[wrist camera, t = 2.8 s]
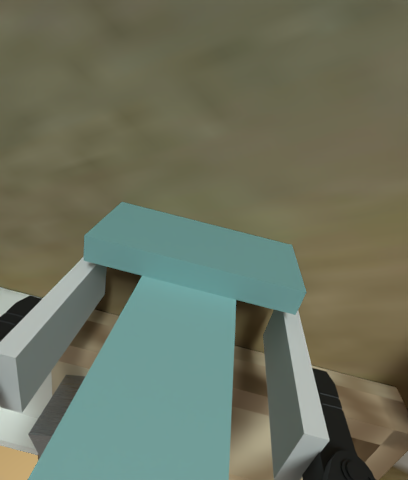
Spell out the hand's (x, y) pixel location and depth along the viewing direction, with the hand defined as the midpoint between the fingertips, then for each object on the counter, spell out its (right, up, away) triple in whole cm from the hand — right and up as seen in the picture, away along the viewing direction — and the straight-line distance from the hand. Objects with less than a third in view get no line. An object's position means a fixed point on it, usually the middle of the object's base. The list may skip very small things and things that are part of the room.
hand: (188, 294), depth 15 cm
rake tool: (0, +1, +2) cm, 2 cm away
